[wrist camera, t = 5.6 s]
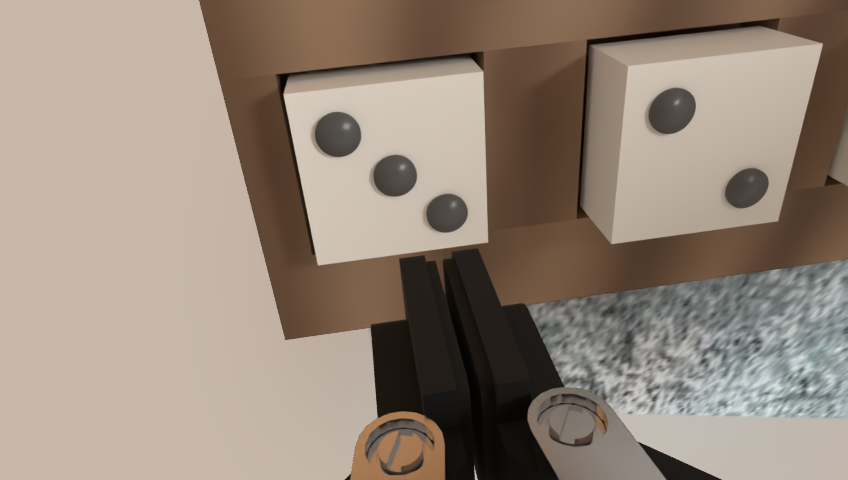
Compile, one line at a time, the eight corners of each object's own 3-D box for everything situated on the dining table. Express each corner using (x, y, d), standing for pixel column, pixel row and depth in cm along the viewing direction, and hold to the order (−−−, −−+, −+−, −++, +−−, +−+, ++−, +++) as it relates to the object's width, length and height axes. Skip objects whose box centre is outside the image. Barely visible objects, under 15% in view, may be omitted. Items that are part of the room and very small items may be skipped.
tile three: (464, 50, 20) (484, 72, 18) (471, 205, 23) (489, 244, 21) (290, 69, 20) (283, 95, 17) (320, 224, 23) (317, 267, 20)
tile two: (760, 25, 20) (826, 44, 17) (728, 186, 23) (780, 223, 20) (589, 44, 20) (630, 67, 17) (579, 205, 23) (613, 246, 20)
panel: (1057, -139, 21) (1158, -145, 18) (922, 208, 28) (981, 239, 25) (206, -59, 19) (185, -53, 16) (290, 296, 26) (285, 339, 23)
